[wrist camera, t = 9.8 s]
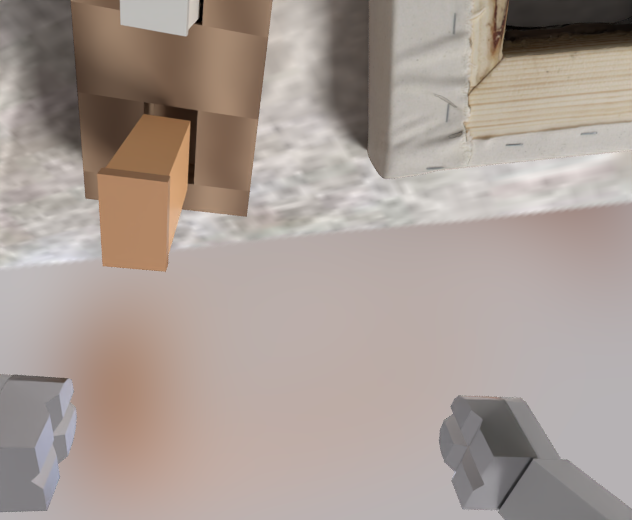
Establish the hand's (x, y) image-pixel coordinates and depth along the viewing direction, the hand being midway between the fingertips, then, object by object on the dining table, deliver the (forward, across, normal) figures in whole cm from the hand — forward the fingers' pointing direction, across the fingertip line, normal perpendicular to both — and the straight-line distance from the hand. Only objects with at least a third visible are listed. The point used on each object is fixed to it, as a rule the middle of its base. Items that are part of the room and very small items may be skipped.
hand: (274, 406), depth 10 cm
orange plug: (+25, +6, +4) cm, 26 cm away
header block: (+33, +6, -1) cm, 34 cm away
